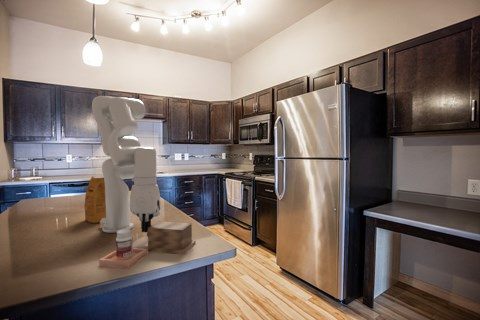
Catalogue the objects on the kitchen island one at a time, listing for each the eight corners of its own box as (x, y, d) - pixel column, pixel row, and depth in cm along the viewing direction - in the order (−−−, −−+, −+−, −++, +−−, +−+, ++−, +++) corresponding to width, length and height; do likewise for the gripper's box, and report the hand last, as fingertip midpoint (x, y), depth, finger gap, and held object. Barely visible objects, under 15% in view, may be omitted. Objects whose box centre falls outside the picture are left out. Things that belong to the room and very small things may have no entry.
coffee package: (102, 215, 129) (101, 175, 128) (113, 219, 122) (112, 176, 121) (81, 220, 121) (80, 177, 120) (92, 224, 114) (90, 178, 113)
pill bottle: (120, 254, 78) (119, 228, 78) (135, 253, 79) (134, 228, 79) (113, 260, 74) (112, 233, 73) (129, 260, 74) (128, 233, 74)
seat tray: (99, 265, 72) (98, 259, 72) (121, 251, 82) (121, 246, 82) (128, 268, 70) (128, 262, 70) (148, 254, 80) (147, 248, 80)
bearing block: (125, 249, 84) (125, 227, 84) (142, 239, 94) (142, 219, 94) (184, 254, 80) (183, 231, 79) (195, 243, 89) (195, 222, 89)
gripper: (120, 181, 85) (121, 232, 86) (158, 183, 81) (158, 236, 82) (134, 179, 92) (135, 226, 93) (169, 180, 89) (169, 229, 90)
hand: (146, 230), depth 88 cm, fingers closed
